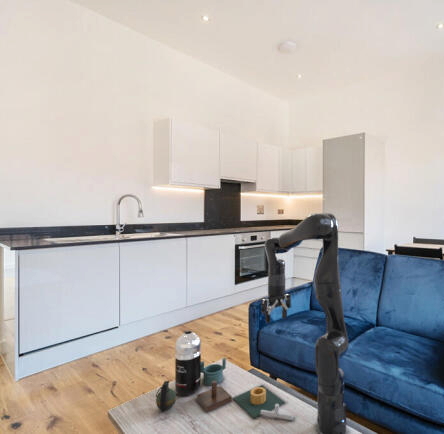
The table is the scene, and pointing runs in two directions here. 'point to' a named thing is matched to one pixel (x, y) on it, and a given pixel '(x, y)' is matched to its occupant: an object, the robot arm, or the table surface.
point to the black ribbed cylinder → (187, 364)
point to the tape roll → (258, 395)
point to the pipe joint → (276, 413)
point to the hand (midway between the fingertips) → (276, 320)
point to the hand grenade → (165, 397)
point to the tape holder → (214, 397)
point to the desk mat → (256, 409)
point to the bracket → (213, 372)
